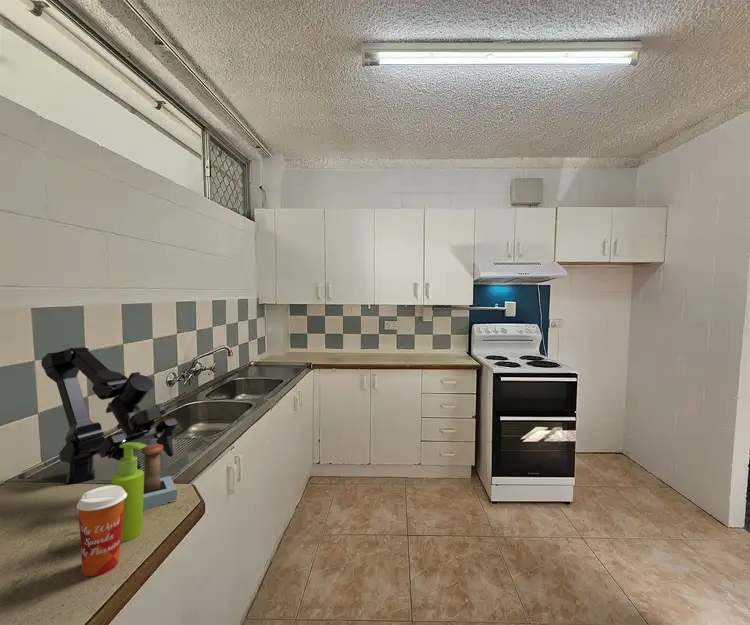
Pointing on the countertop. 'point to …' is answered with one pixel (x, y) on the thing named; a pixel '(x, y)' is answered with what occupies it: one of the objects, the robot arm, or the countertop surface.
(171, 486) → the hole block
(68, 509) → the countertop surface
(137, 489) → the soap dispenser
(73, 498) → the countertop surface
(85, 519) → the paper cup
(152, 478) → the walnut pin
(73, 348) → the robot arm
